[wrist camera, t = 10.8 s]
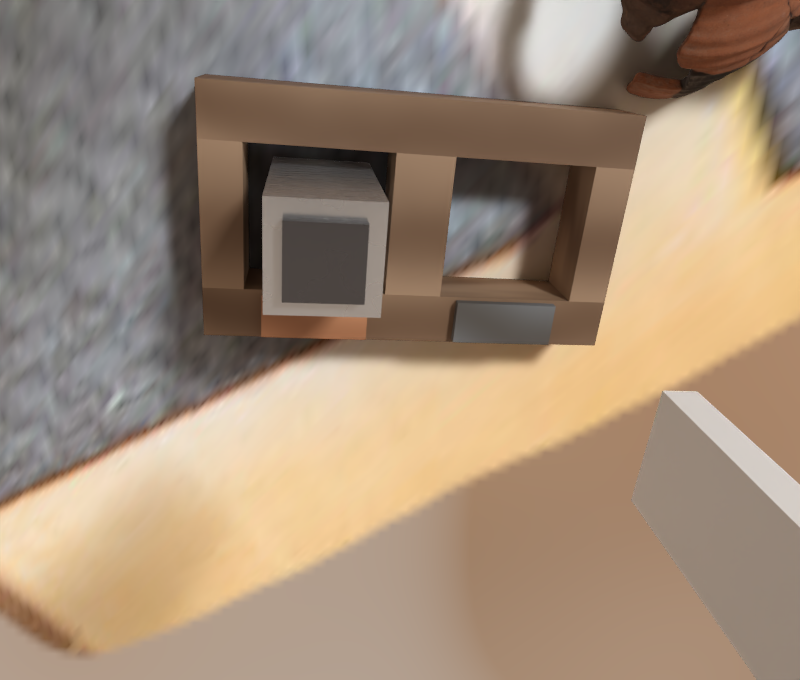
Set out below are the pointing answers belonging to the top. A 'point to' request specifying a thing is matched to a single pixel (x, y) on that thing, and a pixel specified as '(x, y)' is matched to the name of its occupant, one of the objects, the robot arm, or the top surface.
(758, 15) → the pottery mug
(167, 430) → the top surface
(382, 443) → the top surface
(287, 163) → the plug
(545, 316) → the socket board
